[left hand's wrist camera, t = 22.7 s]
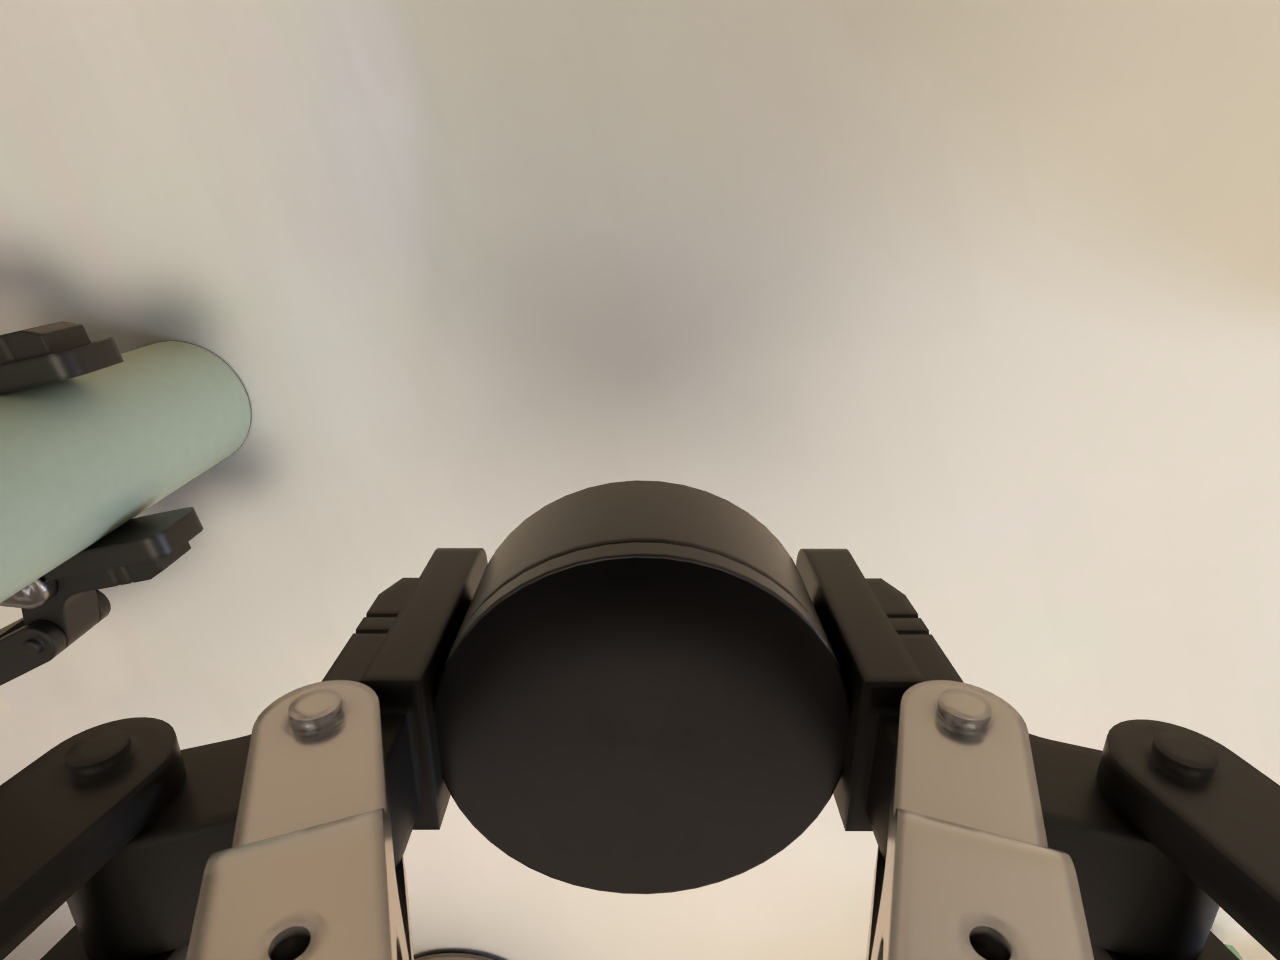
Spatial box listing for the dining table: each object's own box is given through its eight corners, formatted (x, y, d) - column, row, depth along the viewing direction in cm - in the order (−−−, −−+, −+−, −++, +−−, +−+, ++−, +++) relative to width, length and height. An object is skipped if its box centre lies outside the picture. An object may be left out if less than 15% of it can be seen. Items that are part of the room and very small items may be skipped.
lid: (703, 810, 12) (716, 943, 10) (421, 692, 11) (369, 809, 9) (877, 574, 11) (938, 670, 8) (563, 415, 10) (540, 477, 8)
